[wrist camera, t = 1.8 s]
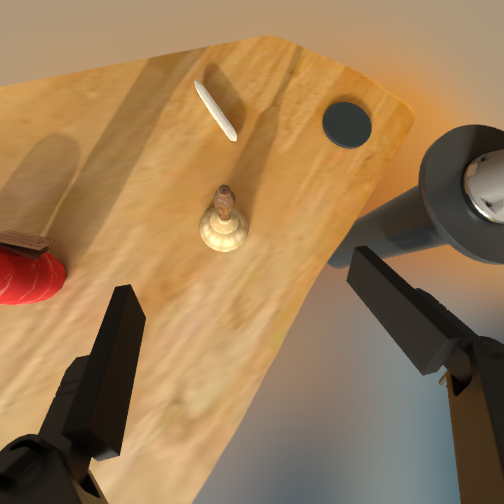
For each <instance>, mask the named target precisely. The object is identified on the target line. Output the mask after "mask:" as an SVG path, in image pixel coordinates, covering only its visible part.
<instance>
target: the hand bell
mask: <svg viewBox="0 0 504 504" xmlns="http://www.w3.org/2000/svg"><path fill="white" fill-rule="evenodd" d="M213 200H214V206H215V207H213V208H211V209H209V210H208V211H207V212H206V213H205V214H204V216H203V217H202V219H201V222H200V234H201V237H202V239H203V241H204V242H205V243H206V244H207V245H208V246H209V247H210V248H212V249H214V250H216V251H221V252H228V251H232V250H235V249H237V248H238V247H240V246H241V245H242V244H243V243H244V241H245V239H246V237H247V234H248V223H247V220H246V218H245V216H244V215H243V214H242V213H241V212H240V211H239V210H238V209H236V208H234V205H235V196H234V194H233V192H232V191H231V189H230V188H229V186H227V185H221V186H220V187H219V189H218V190H217V191H216V192H215V194H214V199H213Z"/></svg>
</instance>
